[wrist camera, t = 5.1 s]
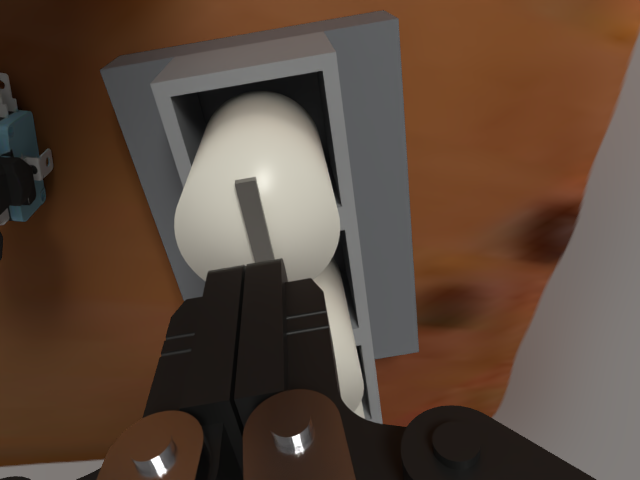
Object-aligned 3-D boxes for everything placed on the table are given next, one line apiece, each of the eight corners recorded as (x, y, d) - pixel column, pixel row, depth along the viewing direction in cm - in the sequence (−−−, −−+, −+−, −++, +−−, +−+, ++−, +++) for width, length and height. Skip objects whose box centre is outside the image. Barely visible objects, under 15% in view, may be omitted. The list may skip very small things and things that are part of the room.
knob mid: (230, 250, 20) (215, 361, 15) (334, 232, 20) (357, 337, 14) (253, 329, 22) (247, 452, 17) (347, 313, 22) (371, 431, 17)
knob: (188, 102, 17) (149, 174, 11) (311, 80, 17) (329, 143, 11) (219, 210, 19) (198, 314, 14) (328, 192, 19) (350, 288, 14)
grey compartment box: (119, 55, 22) (57, 99, 16) (383, 10, 22) (428, 35, 16) (219, 350, 32) (206, 453, 25) (406, 318, 31) (441, 414, 25)
